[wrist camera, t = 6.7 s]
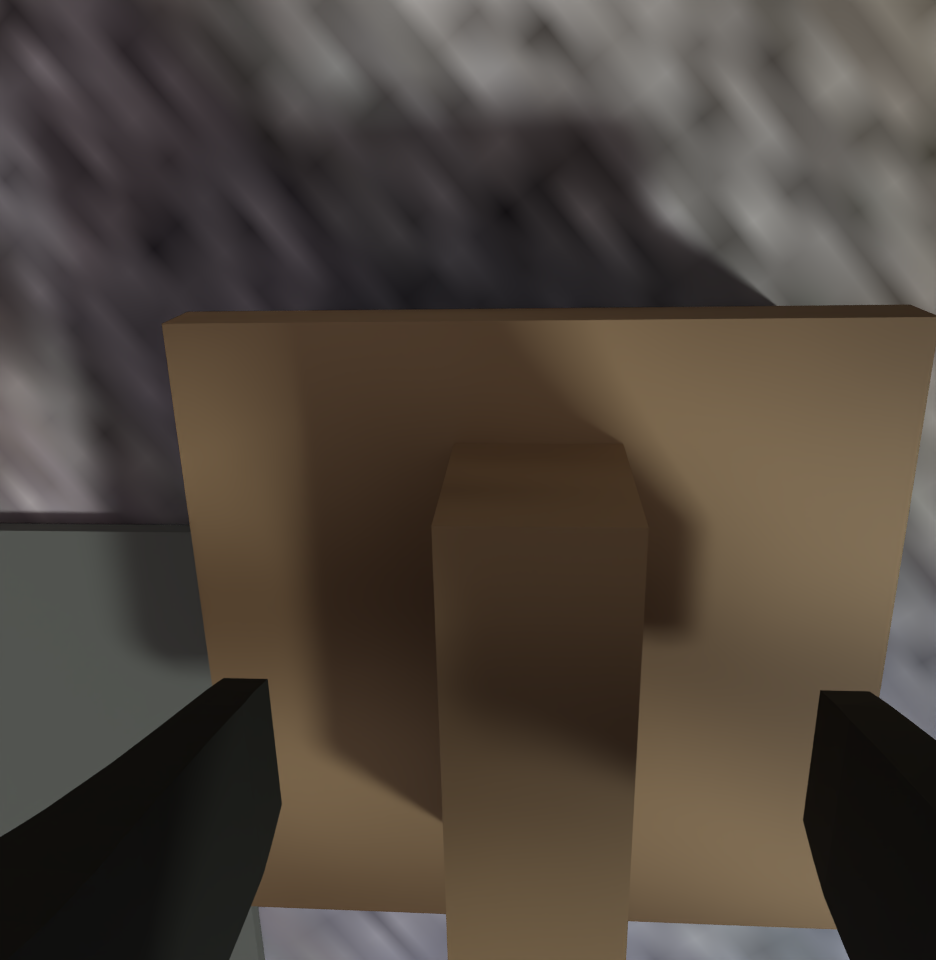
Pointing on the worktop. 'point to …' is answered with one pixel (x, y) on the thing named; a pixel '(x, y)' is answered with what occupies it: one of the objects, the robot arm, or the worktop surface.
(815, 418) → the lid
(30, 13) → the worktop surface
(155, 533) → the mat
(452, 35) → the worktop surface
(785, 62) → the worktop surface
